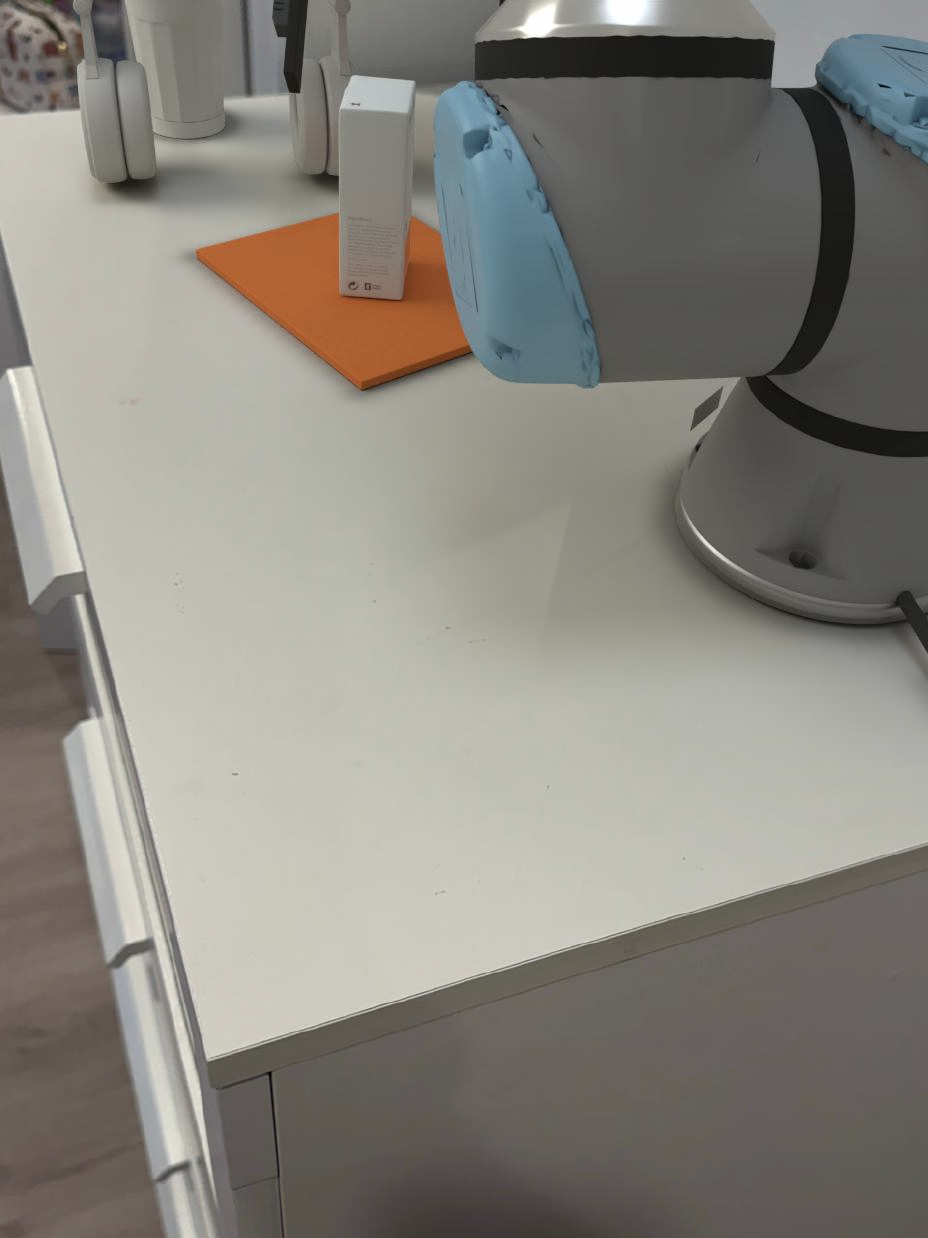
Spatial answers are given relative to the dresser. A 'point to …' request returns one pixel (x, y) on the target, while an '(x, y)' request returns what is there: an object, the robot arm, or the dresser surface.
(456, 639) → the dresser surface
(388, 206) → the cosmetic box
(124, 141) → the headphones
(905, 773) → the dresser surface
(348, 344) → the orange rectangular board
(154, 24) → the cup
